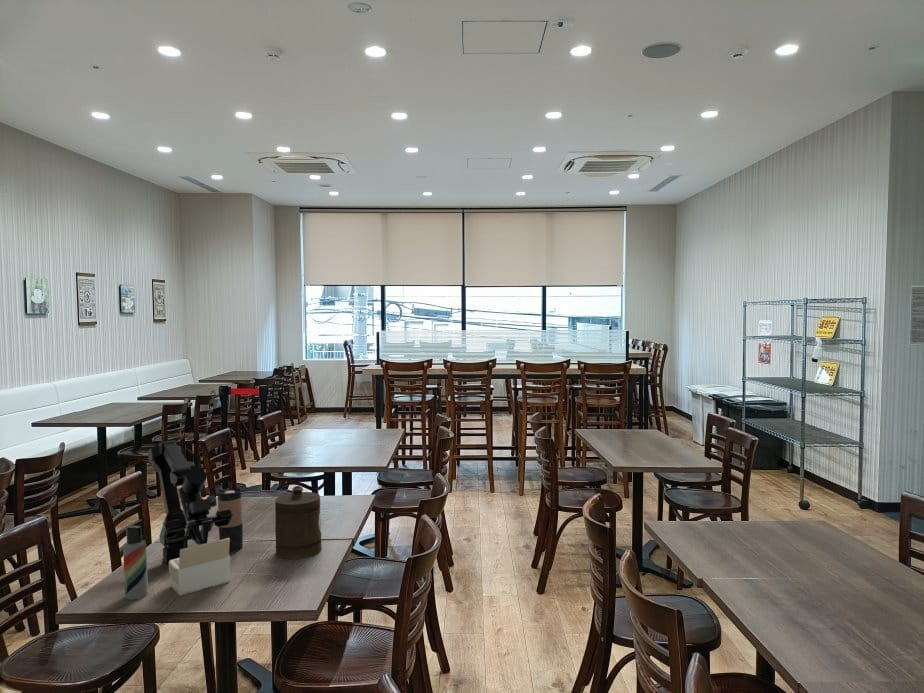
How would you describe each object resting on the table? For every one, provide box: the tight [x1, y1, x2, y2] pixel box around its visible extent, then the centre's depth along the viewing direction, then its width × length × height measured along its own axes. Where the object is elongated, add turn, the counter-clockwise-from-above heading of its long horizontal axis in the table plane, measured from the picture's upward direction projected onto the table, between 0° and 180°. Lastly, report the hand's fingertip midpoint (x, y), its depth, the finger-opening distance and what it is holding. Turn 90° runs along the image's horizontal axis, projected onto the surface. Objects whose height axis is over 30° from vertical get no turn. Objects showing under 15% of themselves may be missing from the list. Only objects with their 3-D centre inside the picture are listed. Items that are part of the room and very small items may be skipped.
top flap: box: [179, 538, 230, 569], centre depth 174 cm, size 6×14×1 cm
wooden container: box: [274, 485, 323, 560], centre depth 202 cm, size 15×15×22 cm
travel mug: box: [217, 487, 244, 553], centre depth 206 cm, size 8×8×20 cm
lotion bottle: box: [122, 525, 149, 601], centre depth 171 cm, size 6×6×20 cm
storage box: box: [168, 554, 231, 597], centre depth 178 cm, size 10×15×8 cm, turn 130°
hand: (205, 549), depth 174 cm, fingers closed, pressing on top flap
